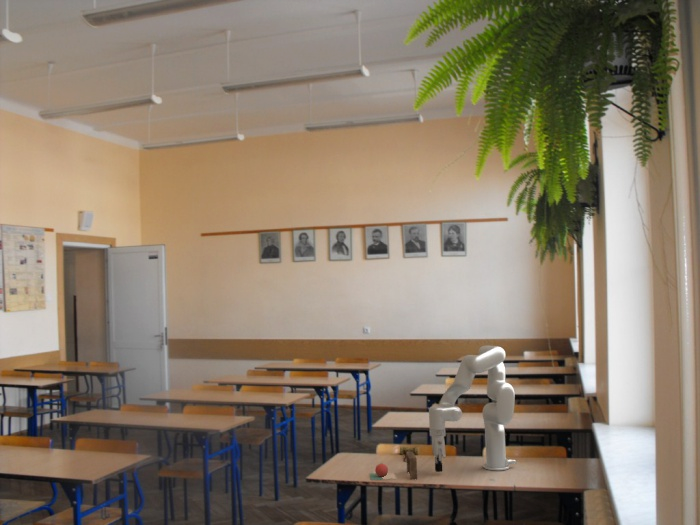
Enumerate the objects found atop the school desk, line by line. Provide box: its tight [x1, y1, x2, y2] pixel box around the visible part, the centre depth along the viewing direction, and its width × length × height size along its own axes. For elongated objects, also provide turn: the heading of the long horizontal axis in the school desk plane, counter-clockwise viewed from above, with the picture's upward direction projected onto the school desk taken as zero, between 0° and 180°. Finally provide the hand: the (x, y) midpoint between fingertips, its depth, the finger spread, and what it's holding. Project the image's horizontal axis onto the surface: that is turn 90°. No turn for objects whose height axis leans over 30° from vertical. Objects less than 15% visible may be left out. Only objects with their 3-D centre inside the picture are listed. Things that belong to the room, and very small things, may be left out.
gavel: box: [399, 446, 420, 462], centre depth 351 cm, size 21×5×10 cm
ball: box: [374, 463, 389, 477], centre depth 312 cm, size 6×6×6 cm
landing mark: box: [369, 472, 383, 481], centre depth 312 cm, size 12×12×1 cm
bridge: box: [405, 451, 418, 481], centre depth 313 cm, size 3×15×10 cm, turn 2°
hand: (438, 471), depth 313 cm, fingers closed
